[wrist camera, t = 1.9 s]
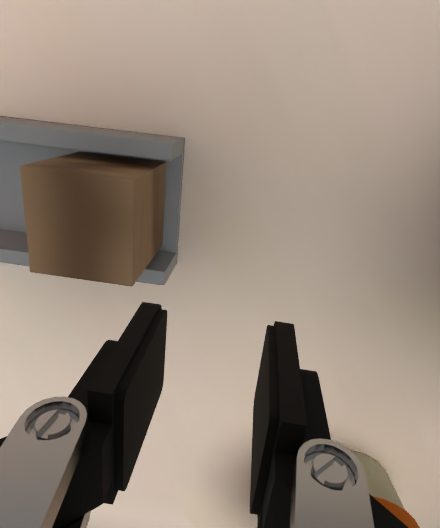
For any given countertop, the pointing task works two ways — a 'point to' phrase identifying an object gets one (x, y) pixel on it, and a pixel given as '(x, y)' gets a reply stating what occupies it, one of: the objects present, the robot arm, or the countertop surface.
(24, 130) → the chute
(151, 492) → the countertop surface
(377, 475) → the reusable coffee cup
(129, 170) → the block
